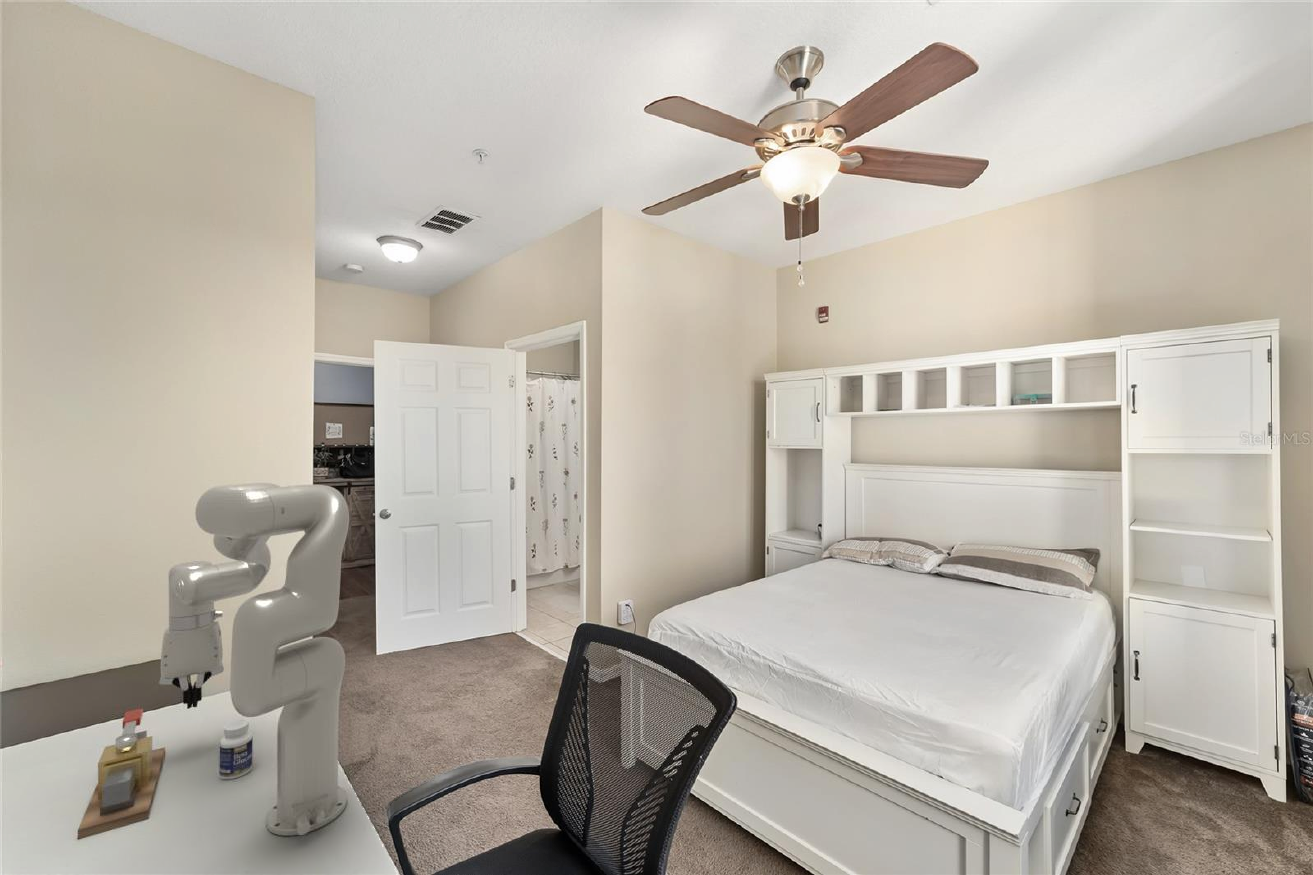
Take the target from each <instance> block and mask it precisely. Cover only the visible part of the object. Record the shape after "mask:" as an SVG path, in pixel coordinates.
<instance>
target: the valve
mask: <svg viewBox="0 0 1313 875" xmlns="http://www.w3.org/2000/svg"><path fill="white" fill-rule="evenodd" d="M147 731H148V730H144V731H140V732H139V731H138V732H135V733H136V734H137V746H136V747H134V748H132V749H130V750H127V751H123V752H116V743H115V744H112V745H107V746H104V749H103V751H102V753H101V755H100V758H99V760H98V762H97V784H98V800H99V799H102V802H101V805H100V816H101V815H104V814H108V813H112V812H115V811H119V810H122V809H126V808H129V807H133V806H134V804H135V800H136V789H140V788H144V787H147V786H148V783H149V780H150V776H151V773H152V750H153V736H148V732H147ZM133 790H134V791H133Z"/></svg>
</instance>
